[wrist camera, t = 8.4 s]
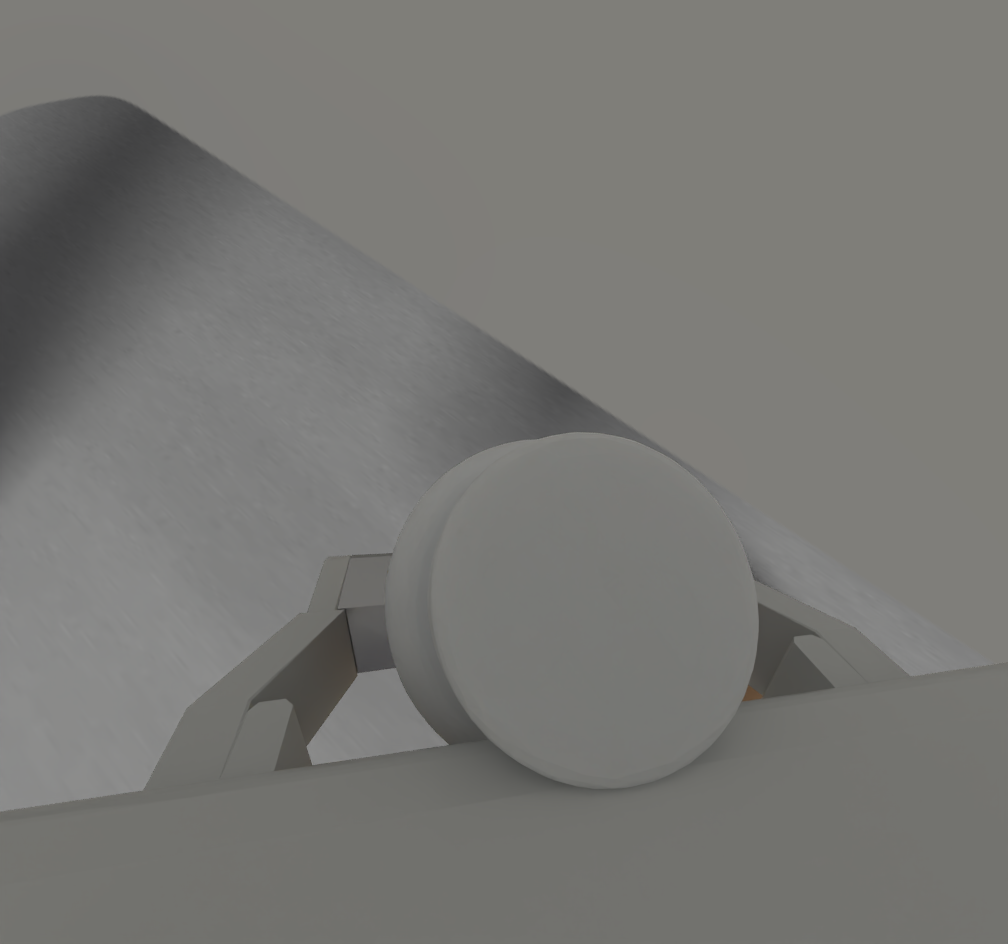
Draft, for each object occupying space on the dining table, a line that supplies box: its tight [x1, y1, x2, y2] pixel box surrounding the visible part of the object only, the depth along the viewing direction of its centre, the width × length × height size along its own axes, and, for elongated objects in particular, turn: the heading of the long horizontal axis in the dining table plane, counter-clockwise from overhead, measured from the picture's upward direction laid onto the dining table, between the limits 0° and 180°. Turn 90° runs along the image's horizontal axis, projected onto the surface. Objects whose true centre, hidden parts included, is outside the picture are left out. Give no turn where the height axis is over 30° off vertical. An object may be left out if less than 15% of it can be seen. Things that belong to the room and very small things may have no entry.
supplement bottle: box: [385, 432, 759, 789], centre depth 9 cm, size 6×6×10 cm
